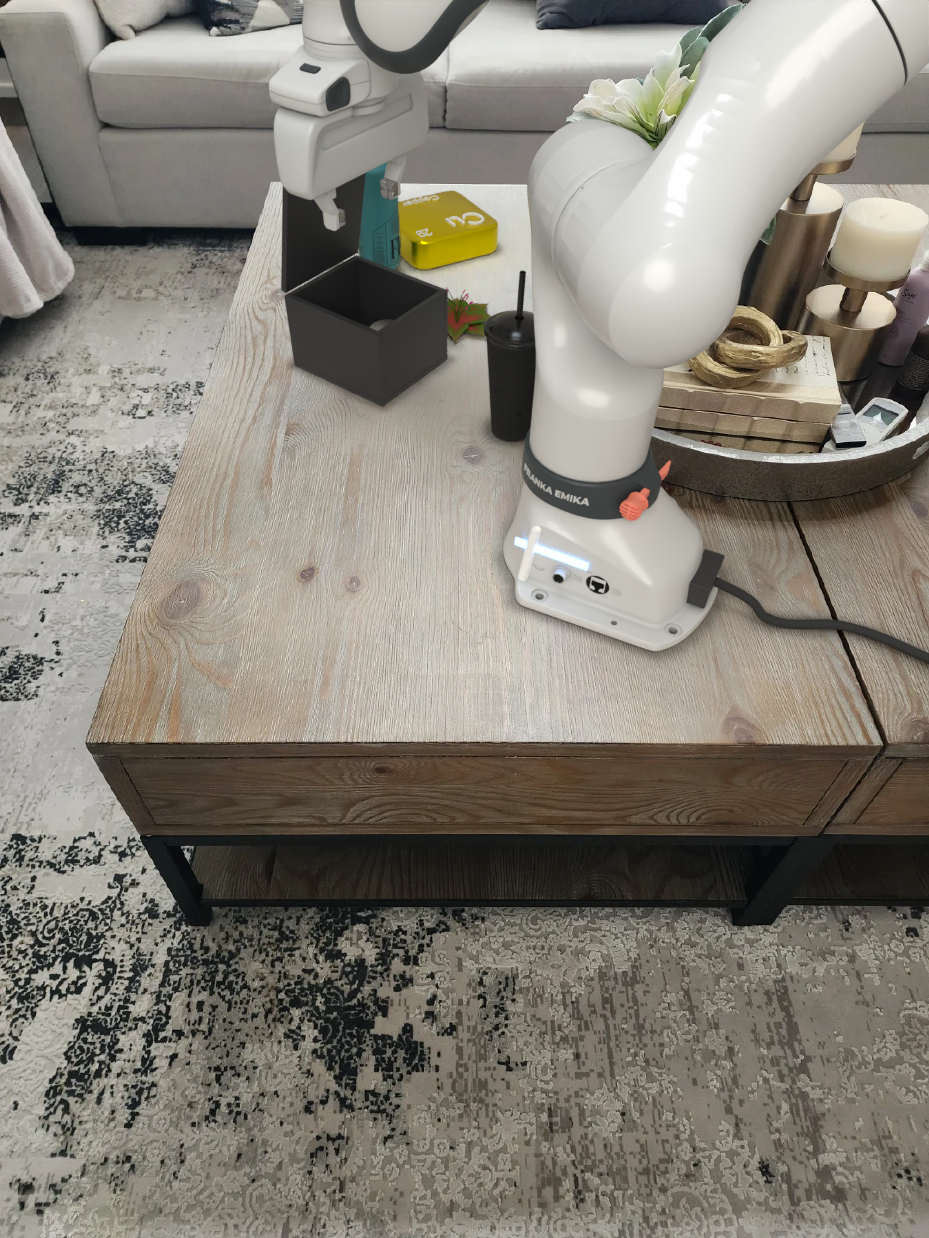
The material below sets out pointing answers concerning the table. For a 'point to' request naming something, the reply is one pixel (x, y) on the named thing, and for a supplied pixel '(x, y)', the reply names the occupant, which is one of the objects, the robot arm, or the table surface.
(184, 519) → the table surface
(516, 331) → the drinking cup
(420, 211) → the element tile
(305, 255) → the lid
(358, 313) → the black tray bin
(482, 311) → the lily flower
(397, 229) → the beverage bottle
